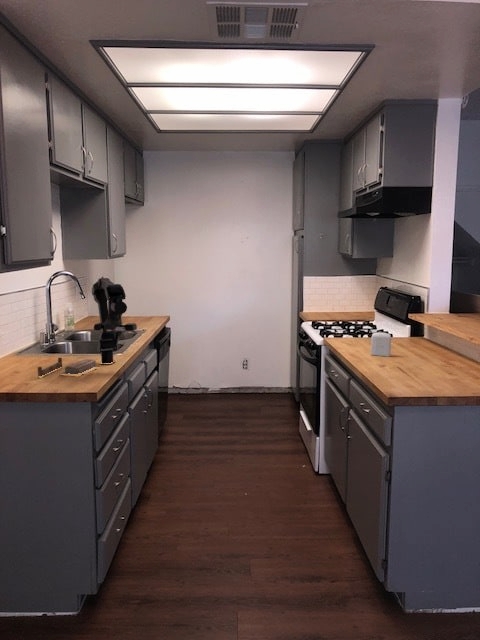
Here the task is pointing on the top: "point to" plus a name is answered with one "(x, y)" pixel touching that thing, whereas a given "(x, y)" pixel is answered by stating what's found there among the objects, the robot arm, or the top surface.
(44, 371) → the stop board
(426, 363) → the top surface
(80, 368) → the packaged product
